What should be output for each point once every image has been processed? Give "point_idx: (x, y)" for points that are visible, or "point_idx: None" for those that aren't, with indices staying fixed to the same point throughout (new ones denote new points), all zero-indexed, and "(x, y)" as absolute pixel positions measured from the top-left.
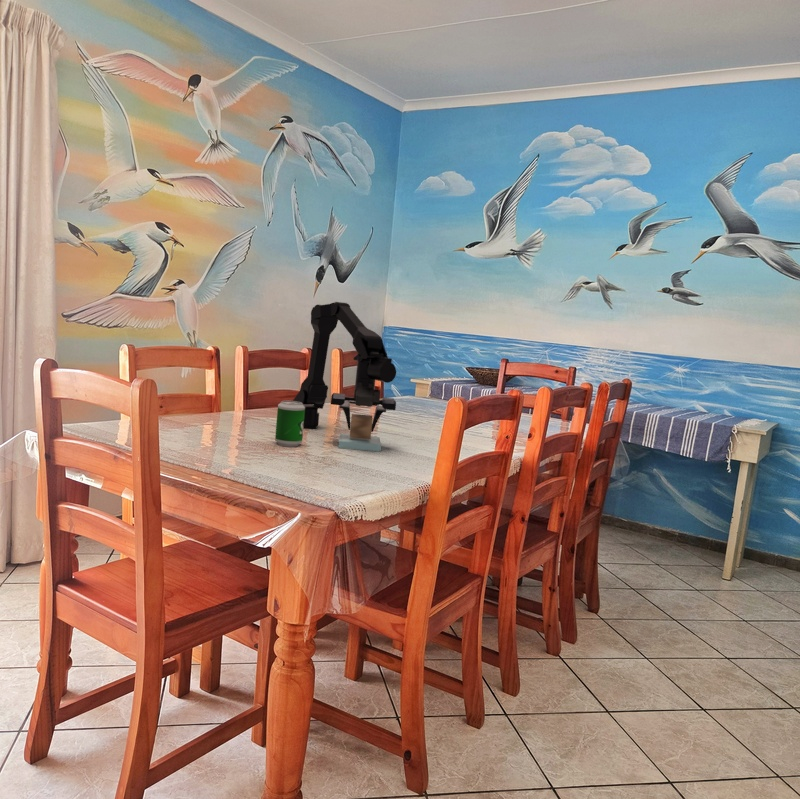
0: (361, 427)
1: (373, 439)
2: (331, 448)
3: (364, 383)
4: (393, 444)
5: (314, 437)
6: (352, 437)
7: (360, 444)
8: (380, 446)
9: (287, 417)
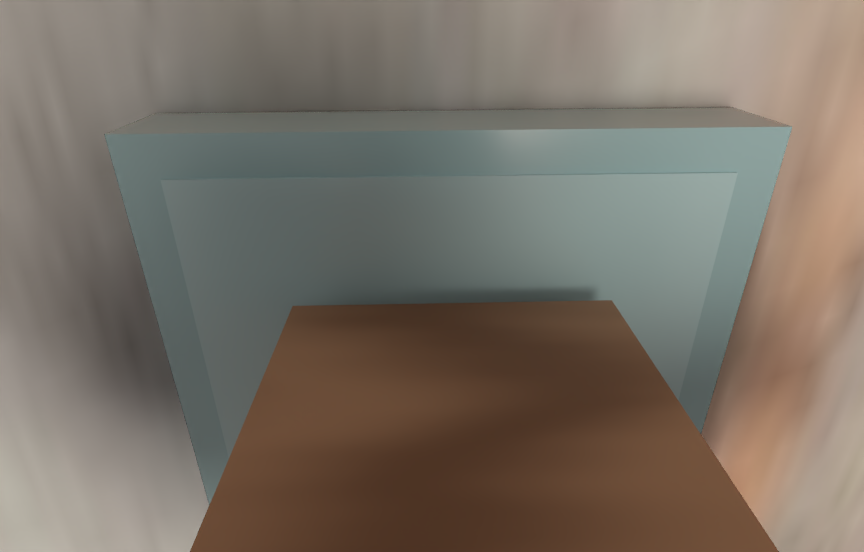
0: (461, 423)
1: None
2: (839, 43)
3: None
4: (110, 532)
5: (859, 517)
6: (572, 302)
7: (442, 123)
8: (125, 128)
9: None
